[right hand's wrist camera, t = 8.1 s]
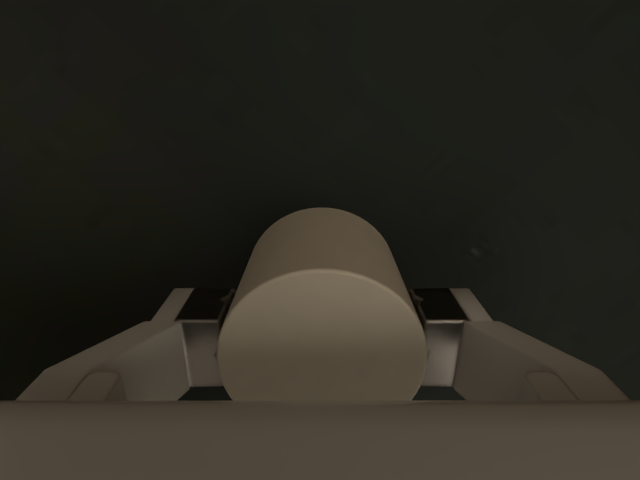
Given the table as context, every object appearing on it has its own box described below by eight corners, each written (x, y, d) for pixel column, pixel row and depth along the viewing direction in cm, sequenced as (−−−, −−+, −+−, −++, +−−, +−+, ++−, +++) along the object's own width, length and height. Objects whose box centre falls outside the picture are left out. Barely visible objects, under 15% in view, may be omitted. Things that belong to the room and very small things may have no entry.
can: (407, 317, 13) (445, 418, 9) (276, 350, 13) (258, 459, 9) (374, 188, 11) (403, 242, 7) (227, 230, 11) (180, 303, 8)
